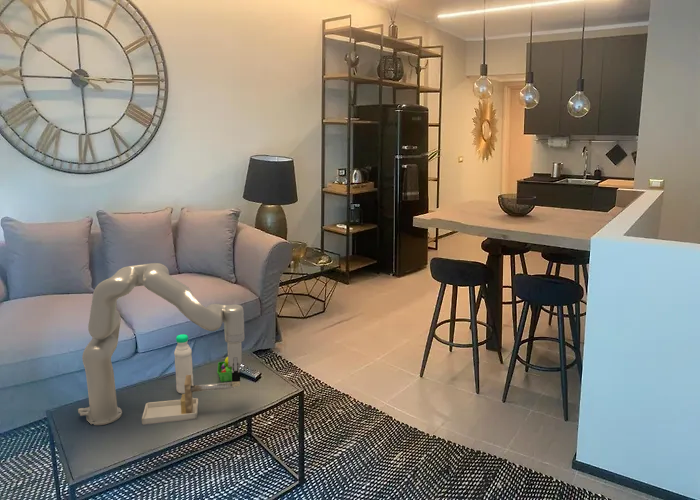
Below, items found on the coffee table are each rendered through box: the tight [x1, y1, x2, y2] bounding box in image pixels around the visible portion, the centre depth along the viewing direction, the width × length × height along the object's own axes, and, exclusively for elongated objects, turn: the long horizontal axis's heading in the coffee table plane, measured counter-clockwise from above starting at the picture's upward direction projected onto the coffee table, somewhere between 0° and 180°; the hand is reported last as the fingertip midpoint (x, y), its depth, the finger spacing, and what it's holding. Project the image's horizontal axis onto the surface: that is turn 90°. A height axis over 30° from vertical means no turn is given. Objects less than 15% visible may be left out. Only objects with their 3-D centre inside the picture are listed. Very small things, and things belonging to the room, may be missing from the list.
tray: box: [141, 397, 199, 426], centre depth 210 cm, size 20×12×2 cm, turn 103°
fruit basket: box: [216, 356, 234, 383], centre depth 240 cm, size 11×9×11 cm
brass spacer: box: [180, 393, 186, 414], centre depth 211 cm, size 2×6×6 cm, turn 12°
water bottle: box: [173, 333, 194, 394], centre depth 226 cm, size 7×7×25 cm
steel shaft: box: [191, 366, 241, 393], centre depth 211 cm, size 20×3×9 cm, turn 103°
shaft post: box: [184, 375, 194, 414], centre depth 211 cm, size 2×8×14 cm, turn 13°
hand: (236, 378), depth 213 cm, fingers open, 3 cm apart
